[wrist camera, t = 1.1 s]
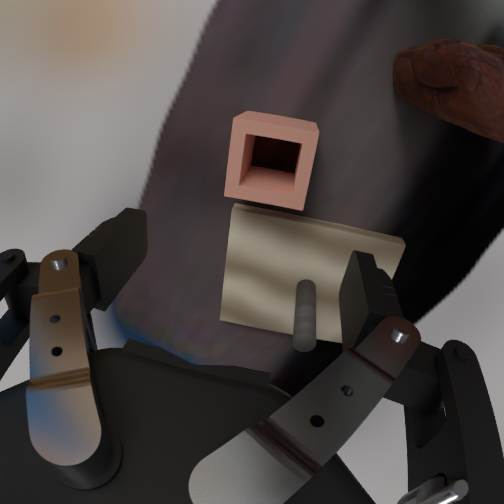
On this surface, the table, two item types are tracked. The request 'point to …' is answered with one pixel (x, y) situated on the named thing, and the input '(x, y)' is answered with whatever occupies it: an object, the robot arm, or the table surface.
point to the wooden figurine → (455, 84)
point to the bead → (264, 179)
